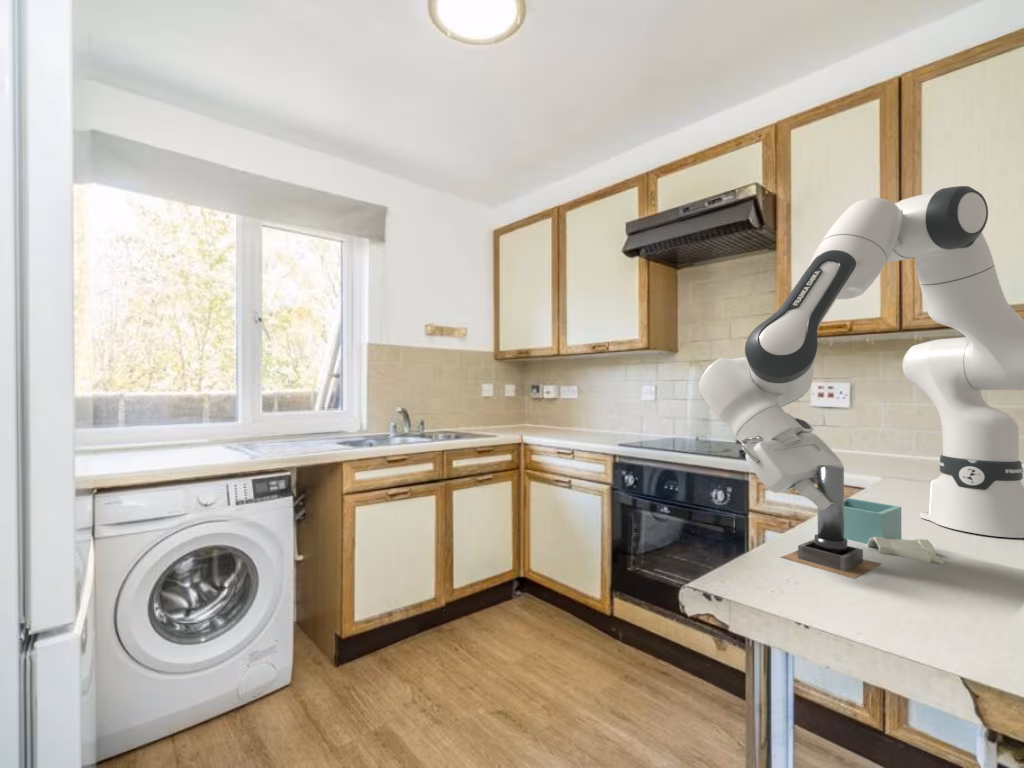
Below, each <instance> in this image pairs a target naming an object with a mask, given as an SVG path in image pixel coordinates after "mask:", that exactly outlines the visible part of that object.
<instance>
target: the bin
mask: <svg viewBox="0 0 1024 768" xmlns="http://www.w3.org/2000/svg"><path fill="white" fill-rule="evenodd" d="M872 537H884V538H885V539H900V540H902V506H898V505H892V504H886V503H880V502H875V501H868V500H862V499H858V498H851V497H847V501H845V502H844V538H845V539H847V541H852V542H858V543H861V544H866V545H868V540H869V538H872Z"/></svg>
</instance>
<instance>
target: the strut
mask: <svg viewBox="0 0 1024 768" xmlns="http://www.w3.org/2000/svg"><path fill="white" fill-rule="evenodd" d="M816 485H817V486H816V488H817V489H818V490H819V491H820V492H822V493H823V494H827V495H828V497H829V498H830V499H831V500H832V501H833V503H834V504H833V505H832V506H831V507H829V508H828V509H825V510H820V509H819V508H818V507H817V534H815V535H814V539H815V549H818V550H822V551H826V552H830V553H834V554H837V555H841V556H843V555H845V554H847V546H848V540H847V539H845V538H844V495H845V467H844V468H843V467H840V466H833V465H818V466H817V484H816Z"/></svg>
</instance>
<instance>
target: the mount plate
mask: <svg viewBox="0 0 1024 768" xmlns="http://www.w3.org/2000/svg"><path fill="white" fill-rule="evenodd" d="M863 550H864V549H863V548H859V547H854V546H851V545H847V554H845V555H843V556H841V555H837V554H834V553H830V552H826V551H822V550H818V549H815V538H814V539H812V540H808V541H807V542H806V541H805V542H803V543H801V544H799V545H797V550H795V551H793V552H790V553H787V554H785V555H783V556H780V558H781V559H784V560H787V561H791V562H795V563H797V564H802V565H805V566H809V567H812V568H814V569H818V570H823V571H826V572H829V573H832V574H836V575H840V576H842V577H843V576H844V577H847V578H851V579H857V578H859V577H861V576H862V575H865V574H866V573H868V572H870V571H872V570H873V569H875V568H877V567H879V566H880V565H881V566H882V563H880V562H876V561H871V560H869V559H864V552H863Z"/></svg>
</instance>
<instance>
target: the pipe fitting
mask: <svg viewBox="0 0 1024 768" xmlns="http://www.w3.org/2000/svg"><path fill="white" fill-rule="evenodd" d="M867 547H868V548H877V549H878V554H881V555H882V554H883V555H884V554H885V555H886V554H887V555H893V556H898V557H903V558H908V559H911V560H915V561H920V562H925V563H929V564H931V563H935V564H941V565H942V564H945V560H942V558H941V557H940V556H939V555H937V552H936V550H935V549H936V548H935V547H934V545H933V543H932V542H931V541H930V540H929V539H925V538H924V539H921V538H920V539H919V538H918V539H914V540H913V539H901V540H900V539H885V538H884V537H872V538H869V540H868V544H867Z"/></svg>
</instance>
